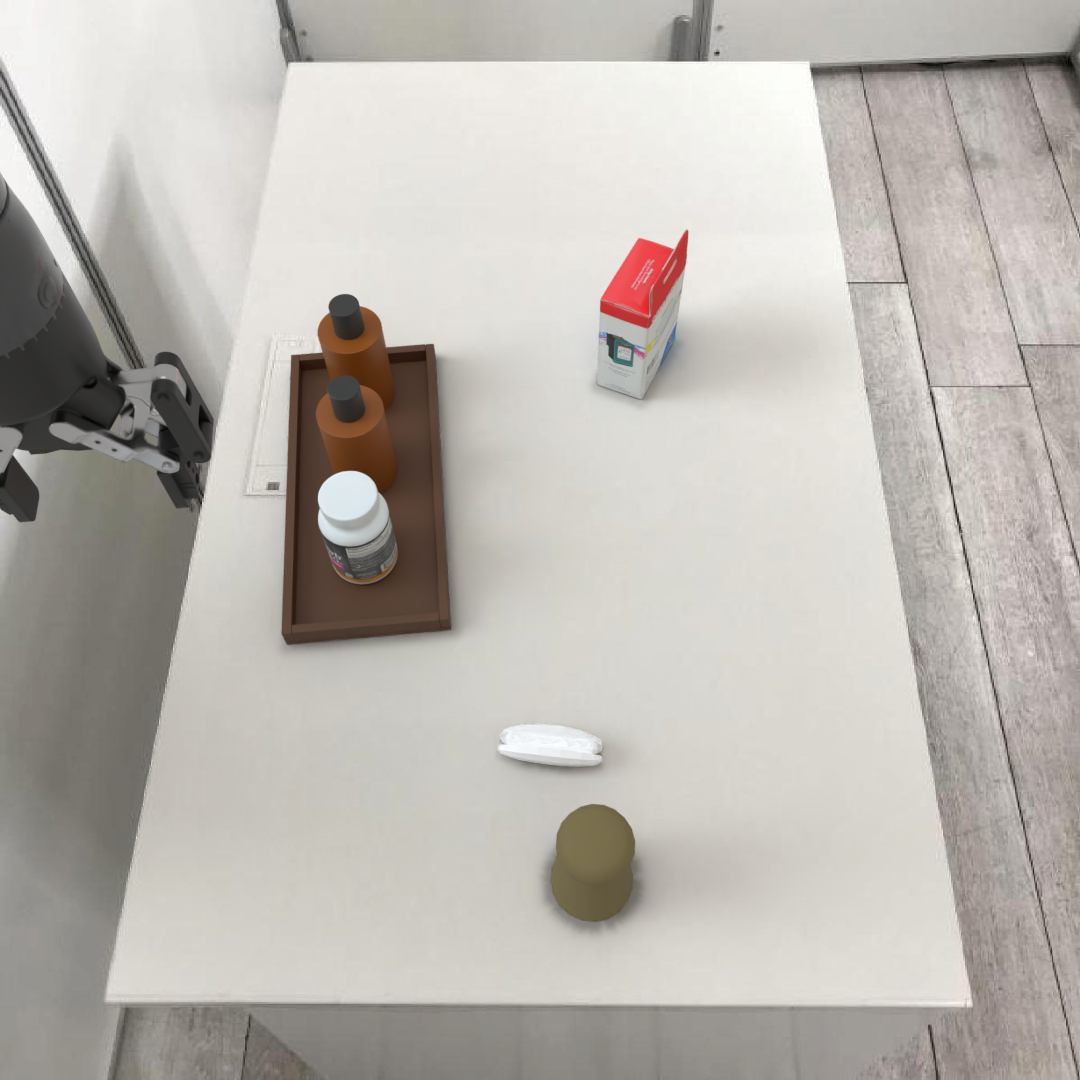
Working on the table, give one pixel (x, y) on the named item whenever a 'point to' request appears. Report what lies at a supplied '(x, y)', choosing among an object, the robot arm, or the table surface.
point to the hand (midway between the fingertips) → (108, 501)
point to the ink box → (640, 316)
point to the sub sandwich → (551, 745)
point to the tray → (413, 501)
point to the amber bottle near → (357, 431)
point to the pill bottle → (356, 528)
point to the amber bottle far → (356, 346)
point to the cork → (593, 863)
